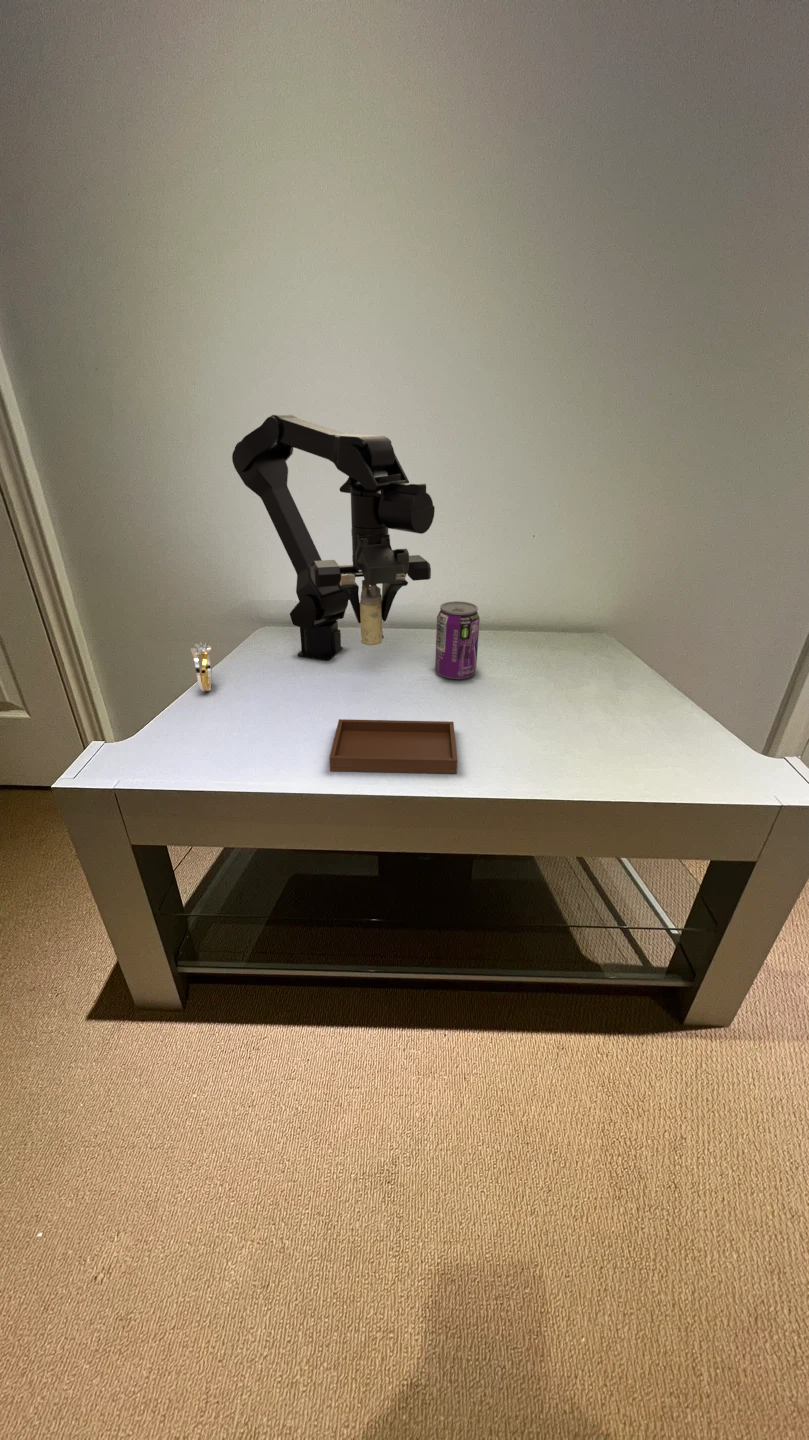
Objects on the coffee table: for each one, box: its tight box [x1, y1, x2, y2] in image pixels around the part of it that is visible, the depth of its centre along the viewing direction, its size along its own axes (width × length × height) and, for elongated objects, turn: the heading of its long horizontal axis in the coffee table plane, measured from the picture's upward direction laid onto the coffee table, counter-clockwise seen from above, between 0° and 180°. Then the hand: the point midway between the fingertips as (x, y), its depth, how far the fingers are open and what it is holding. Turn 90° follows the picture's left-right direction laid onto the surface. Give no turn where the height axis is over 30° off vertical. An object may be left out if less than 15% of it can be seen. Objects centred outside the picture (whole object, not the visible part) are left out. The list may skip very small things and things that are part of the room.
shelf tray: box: [329, 718, 458, 775], centre depth 80 cm, size 16×10×2 cm, turn 89°
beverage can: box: [434, 600, 481, 680], centre depth 100 cm, size 7×7×12 cm
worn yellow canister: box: [359, 579, 385, 647], centre depth 98 cm, size 7×4×10 cm, turn 0°
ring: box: [190, 641, 213, 692], centre depth 94 cm, size 7×3×8 cm, turn 5°
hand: (371, 621), depth 99 cm, fingers closed on worn yellow canister, 4 cm apart
